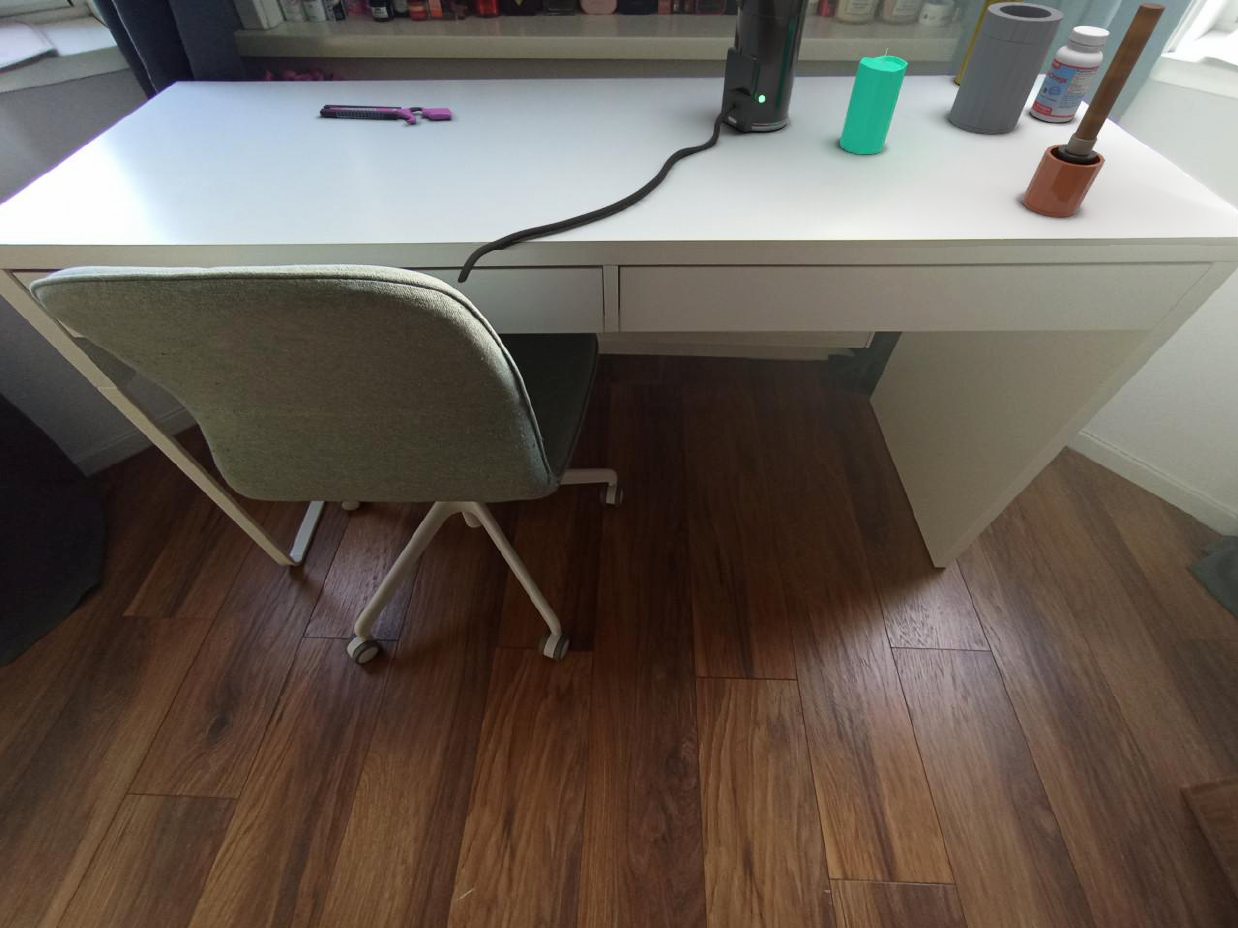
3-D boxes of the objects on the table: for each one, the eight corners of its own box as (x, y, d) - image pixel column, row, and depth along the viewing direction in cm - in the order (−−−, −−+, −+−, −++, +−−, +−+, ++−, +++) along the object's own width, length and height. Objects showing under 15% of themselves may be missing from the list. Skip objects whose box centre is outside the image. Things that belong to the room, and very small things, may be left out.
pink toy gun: (455, 106, 98) (447, 120, 95) (456, 112, 98) (448, 127, 95) (326, 102, 99) (314, 115, 96) (328, 108, 100) (316, 122, 97)
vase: (995, 90, 105) (1038, -16, 94) (956, 88, 106) (994, -18, 95) (989, 78, 109) (1029, -25, 98) (951, 75, 110) (987, -27, 99)
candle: (884, 140, 92) (912, 44, 83) (881, 157, 88) (910, 58, 79) (841, 135, 93) (865, 39, 84) (837, 151, 89) (861, 53, 80)
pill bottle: (1021, 109, 99) (1058, 25, 91) (1058, 108, 100) (1099, 23, 91) (1042, 124, 95) (1082, 37, 87) (1080, 123, 96) (1125, 36, 87)
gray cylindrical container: (986, 139, 92) (1033, 25, 81) (935, 117, 97) (973, 8, 87) (1028, 126, 95) (1078, 14, 84) (976, 106, 100) (1017, -1, 90)
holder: (1056, 222, 76) (1083, 171, 71) (1011, 201, 79) (1034, 151, 75) (1087, 209, 78) (1116, 159, 73) (1042, 189, 81) (1067, 140, 77)
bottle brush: (1055, 212, 76) (1161, 13, 61) (1026, 198, 78) (1122, 4, 64) (1076, 203, 78) (1184, 7, 63) (1046, 191, 80) (1145, -2, 65)
